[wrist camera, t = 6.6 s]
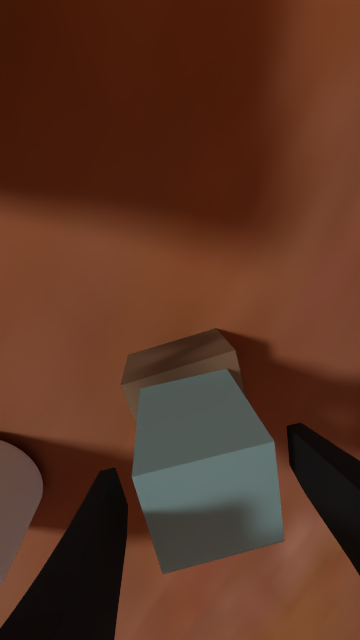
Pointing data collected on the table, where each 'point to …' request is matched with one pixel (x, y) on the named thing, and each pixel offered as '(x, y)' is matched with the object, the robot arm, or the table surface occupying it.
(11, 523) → the beverage can
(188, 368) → the walnut base block
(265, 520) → the teal block
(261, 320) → the table surface
